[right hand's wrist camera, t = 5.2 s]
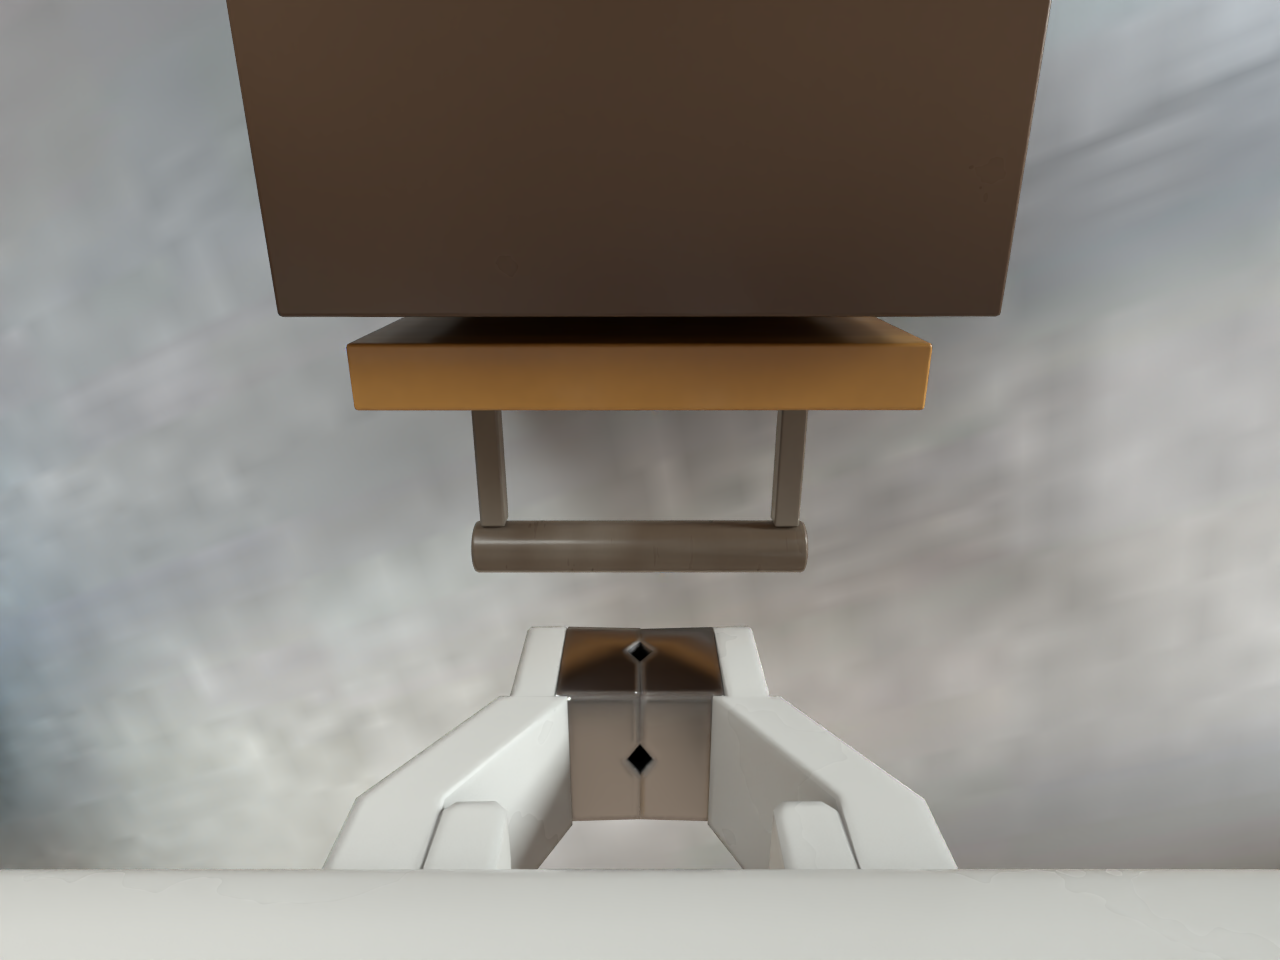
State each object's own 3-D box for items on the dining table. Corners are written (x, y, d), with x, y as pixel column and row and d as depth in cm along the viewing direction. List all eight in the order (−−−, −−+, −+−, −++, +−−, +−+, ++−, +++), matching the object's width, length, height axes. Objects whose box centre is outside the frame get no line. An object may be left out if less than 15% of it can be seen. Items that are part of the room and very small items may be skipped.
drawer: (801, 496, 23) (891, 658, 15) (477, 496, 23) (387, 658, 15) (878, -468, 16) (1146, -1221, 7) (399, -467, 16) (130, -1217, 8)
